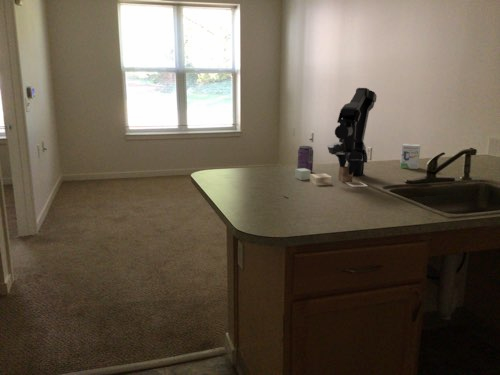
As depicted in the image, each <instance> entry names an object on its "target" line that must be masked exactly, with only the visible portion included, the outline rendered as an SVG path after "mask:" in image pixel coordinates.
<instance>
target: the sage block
mask: <svg viewBox="0 0 500 375" xmlns="http://www.w3.org/2000/svg"><path fill="white" fill-rule="evenodd" d="M310 174H312V172H311V170H308V169H305V168H302V169H297V168H295V169H294V178H295V179H297V180H300V181H302V180H304V181H305V180H310Z"/></svg>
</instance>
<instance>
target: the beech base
mask: <svg viewBox="0 0 500 375" xmlns="http://www.w3.org/2000/svg"><path fill="white" fill-rule="evenodd" d="M309 182H310V183H312V184H313V185H315V186H325V185H328V186H329V185H330V186H331V185H332V182H333V176H331V175H330V174H328V173H311V174H310V179H309Z"/></svg>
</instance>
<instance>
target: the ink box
mask: <svg viewBox="0 0 500 375" xmlns="http://www.w3.org/2000/svg"><path fill="white" fill-rule="evenodd" d="M400 152H401V153H400V166H399V167H400V169H410V170H412V169H413V170H418V169H419V163H420V153H421V144H419V143H418V144H417V143H402V145H401V151H400Z"/></svg>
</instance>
